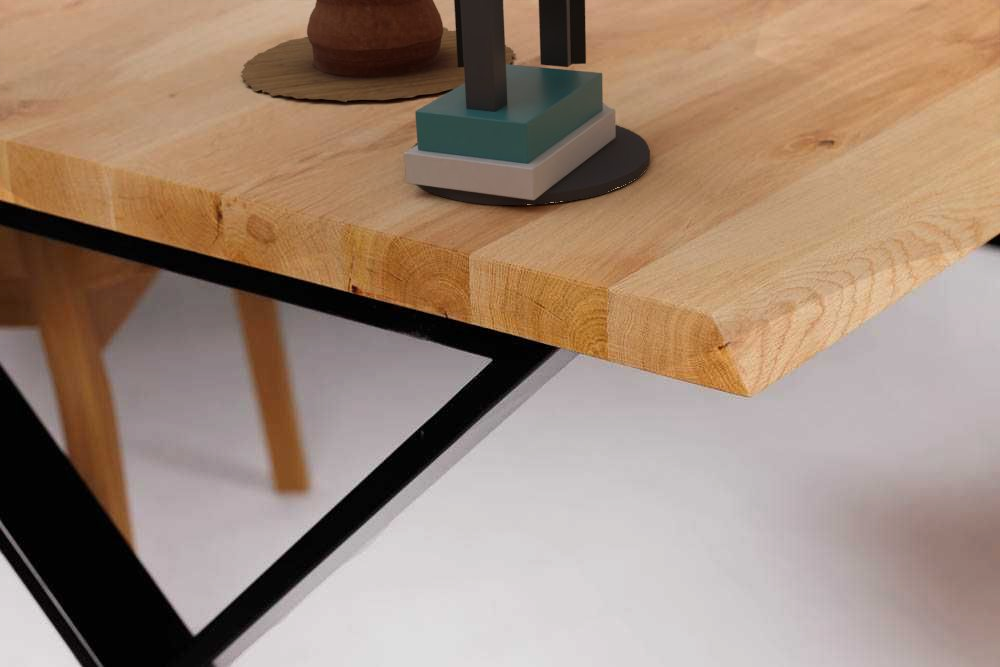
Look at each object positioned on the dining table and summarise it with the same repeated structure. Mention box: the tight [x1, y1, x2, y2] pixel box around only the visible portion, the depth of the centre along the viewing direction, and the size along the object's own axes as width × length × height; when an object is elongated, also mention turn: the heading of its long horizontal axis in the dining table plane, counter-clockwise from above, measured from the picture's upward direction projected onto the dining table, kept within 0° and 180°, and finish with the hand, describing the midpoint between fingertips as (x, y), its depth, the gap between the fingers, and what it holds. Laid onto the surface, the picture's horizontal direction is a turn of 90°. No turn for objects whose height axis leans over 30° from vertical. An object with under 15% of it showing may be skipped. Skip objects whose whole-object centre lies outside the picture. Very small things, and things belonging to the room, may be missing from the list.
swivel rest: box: [411, 124, 651, 206], centre depth 75 cm, size 13×13×1 cm
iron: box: [403, 0, 616, 200], centre depth 72 cm, size 13×7×12 cm, turn 153°
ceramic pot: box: [240, 0, 516, 103], centre depth 92 cm, size 18×18×7 cm
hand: (522, 57), depth 72 cm, fingers closed on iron, 5 cm apart
